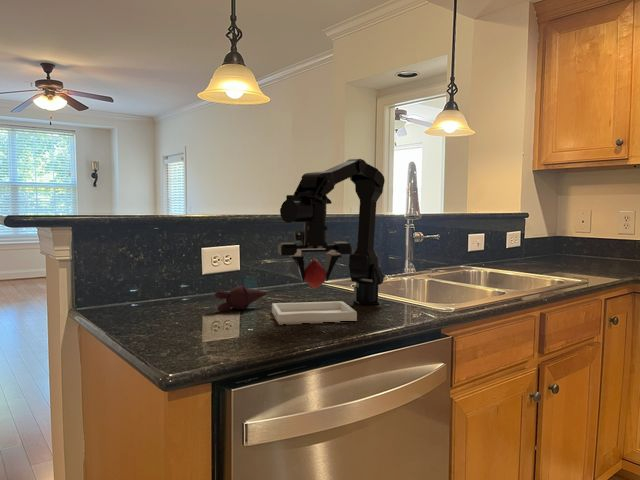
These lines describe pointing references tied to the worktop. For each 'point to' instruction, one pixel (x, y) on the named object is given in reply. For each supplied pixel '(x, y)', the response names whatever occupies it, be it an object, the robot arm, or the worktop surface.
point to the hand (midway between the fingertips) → (314, 281)
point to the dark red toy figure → (238, 298)
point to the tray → (312, 312)
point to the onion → (315, 274)
